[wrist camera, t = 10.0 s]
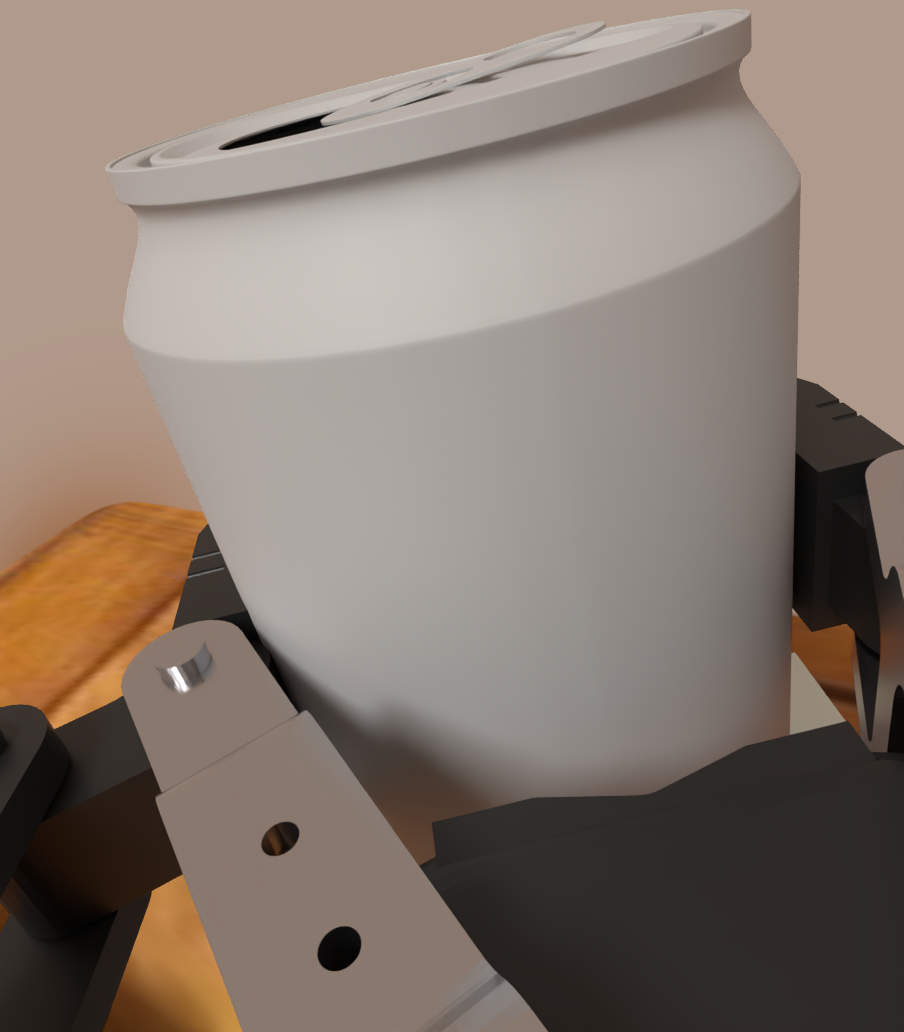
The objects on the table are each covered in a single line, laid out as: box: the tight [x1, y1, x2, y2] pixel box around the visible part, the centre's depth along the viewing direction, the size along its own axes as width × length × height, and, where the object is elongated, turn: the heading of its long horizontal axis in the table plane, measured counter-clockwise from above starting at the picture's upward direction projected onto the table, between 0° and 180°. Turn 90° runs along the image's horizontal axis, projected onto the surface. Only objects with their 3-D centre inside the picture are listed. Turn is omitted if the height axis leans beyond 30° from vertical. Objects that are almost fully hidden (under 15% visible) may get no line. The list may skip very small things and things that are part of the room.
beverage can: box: [105, 9, 801, 865], centre depth 10 cm, size 6×6×12 cm
